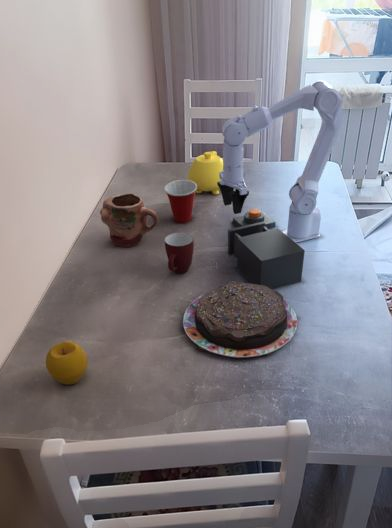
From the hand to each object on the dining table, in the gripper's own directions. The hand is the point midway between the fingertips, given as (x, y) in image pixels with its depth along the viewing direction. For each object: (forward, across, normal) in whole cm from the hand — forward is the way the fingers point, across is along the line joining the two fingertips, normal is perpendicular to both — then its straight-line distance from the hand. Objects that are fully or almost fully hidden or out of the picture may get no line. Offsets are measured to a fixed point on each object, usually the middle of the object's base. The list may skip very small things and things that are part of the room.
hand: (232, 208), depth 146 cm
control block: (+10, -6, +11) cm, 16 cm away
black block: (+10, +23, 0) cm, 25 cm away
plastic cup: (+11, -20, -9) cm, 24 cm away
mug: (+11, +11, -22) cm, 27 cm away
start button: (+7, -6, +11) cm, 14 cm away
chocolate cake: (+11, +39, -17) cm, 44 cm away
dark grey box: (+9, +13, 0) cm, 16 cm away
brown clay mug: (+11, -13, -29) cm, 34 cm away
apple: (+11, +41, -59) cm, 73 cm away
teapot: (+11, -42, +11) cm, 45 cm away
